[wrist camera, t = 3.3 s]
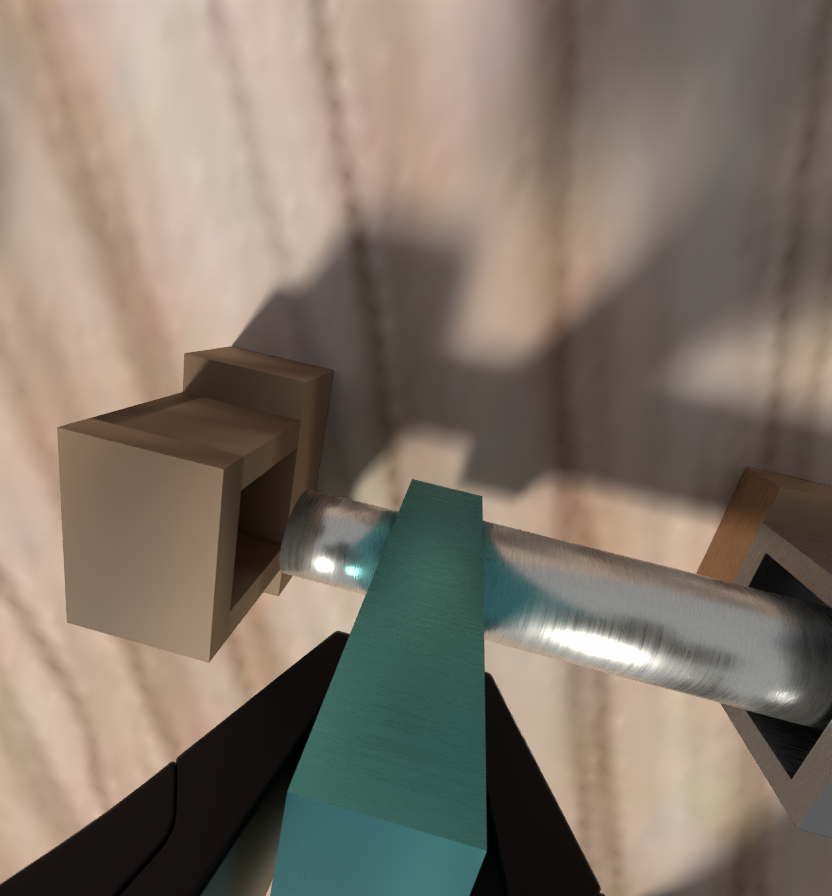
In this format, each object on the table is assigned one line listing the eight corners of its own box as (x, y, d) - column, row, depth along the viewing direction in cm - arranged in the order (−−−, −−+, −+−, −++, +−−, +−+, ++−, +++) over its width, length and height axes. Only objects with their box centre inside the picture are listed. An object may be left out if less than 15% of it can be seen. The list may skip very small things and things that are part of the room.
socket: (333, 370, 14) (227, 415, 8) (305, 557, 17) (206, 698, 11) (230, 346, 15) (54, 373, 9) (216, 533, 17) (68, 659, 11)
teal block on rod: (1019, 628, 12) (2310, 1395, 3) (951, 715, 12) (1836, 1479, 4) (326, 457, 13) (54, 722, 5) (312, 549, 14) (65, 902, 6)
